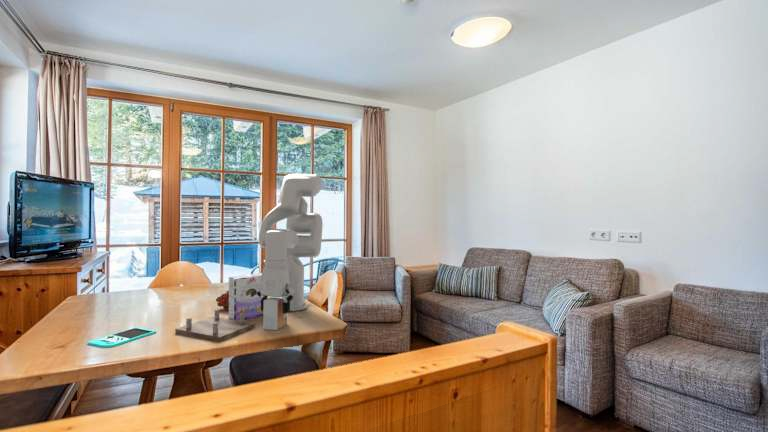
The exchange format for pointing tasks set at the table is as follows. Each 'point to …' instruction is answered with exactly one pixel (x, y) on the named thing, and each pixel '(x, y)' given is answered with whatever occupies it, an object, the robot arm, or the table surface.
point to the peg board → (222, 329)
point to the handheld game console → (121, 337)
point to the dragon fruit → (223, 300)
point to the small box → (273, 313)
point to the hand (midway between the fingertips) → (275, 311)
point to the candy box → (244, 296)
